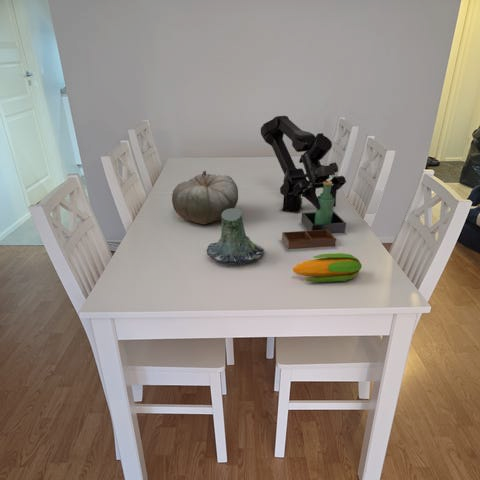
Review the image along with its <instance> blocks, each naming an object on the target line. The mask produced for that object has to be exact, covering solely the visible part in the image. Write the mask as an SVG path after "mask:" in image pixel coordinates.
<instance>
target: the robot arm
mask: <svg viewBox="0 0 480 480" xmlns="http://www.w3.org/2000/svg"><path fill="white" fill-rule="evenodd" d="M260 135H261V137H262V139H263V140H264V142H265V143H266V144H268V145H269V146H271V147H272V150H273V152H274V154H275V157H276V159H277V161H278V163H279V166H280V168H281V170H282V172H283V181H282V182H283V183H282V185H280V187H279V191H280V192H279V193H280V194H281V195H282V196H283V202H282V208H281V211H282V212H289V213H299V212H300V210H301V209H302V206H303V198H304V199H306V200H307V201H308V202H309V203H310V204H312V206H313V207H315V209H316V208H317V209H318V210H319V209H320V204H319V201H318V198H317V197H318V196H317V193H316V192H317V190H316V189H323V185H324V184H323V181H328V180H329V179H330V178H331V176H333V177H332V178H331V179H330V181H331V182H332V185H331V191H330V194H332V197H334V198H335V199H334V207H333V208H336V206H337V204H336V203H337V191H338V190H340V189H341V188H342V187H343V186H344V185H345V184H346V183H347V180H346V177H345V176H344V175H336V174H335V173H338V172H339V166H338V163H337V162H332V163H331V162H330V163H329V164H328V165H324V164H322V163H321V160H323V159H324V157H325V156H327V154H328V153H329V152H330V150H331V149H332V148H333V142H332V141H331V139H330V138H329V137H327V136H325V135H324V133H323V132H319V133H317V134H316V135H315V134H314V133H312V132H310V131H308V130H307V131H306V130H303V129H301V128H300V127H299V126H298V125H297V124H295V123H294V122H293V121H292V120H291V119H290V118H289V117H288V115H277V116H274V117H273V118H272V119H270V120H269V121H266V122H265V123H263V124H262V126H261V127H260ZM284 136H286V137H287V138H288V140H290V141H291V146H292V147H293V149H294V151H295V152H296V153H303V154H300V158H299V161H298V163H299V164H303V168H304V169H303V168H302V167H301V168H297V167H296V164H295V162H294V160H293V159H292V156H291V154H290V152H289V150H288V148H287V145H286V143H285V141H284ZM304 170H305V171H304ZM335 175H336V176H335Z"/></svg>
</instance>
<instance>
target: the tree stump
mask: <svg viewBox="0 0 480 480" xmlns="http://www.w3.org/2000/svg"><path fill="white" fill-rule="evenodd" d="M220 232H221V233H220V238H219V239H218V241H217V242H212V243H209V244H208V245H207V248H206V254H207V256H209V257H210V258H211V259H212V260H214V261H216V262H217V263H222V264H230V265H239V266H240V265H245V264H249V263H252V262H253V263H254V262H256V261H258V260H259V259H260V258H262V256H264V252H265V250H264V248H262V247H260V245H258V244H256V243H254V242H253V241H252V240H251V239H250V237H249V236H247V235H246V230H245V227H244V219H243V213H242V211H241V210H240V209H239V208H236V207H235V208H231V209H226V210H224V211H223V212H222V219H221V231H220Z"/></svg>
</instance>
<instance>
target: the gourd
mask: <svg viewBox="0 0 480 480" xmlns="http://www.w3.org/2000/svg"><path fill="white" fill-rule="evenodd" d="M238 201H239V189H238V185H237V183H236V182H235V180H234V179H233V178H232V177H231V176H230V175H227V174H212V173H207V170H203V171H202V173H200V174H196V175H195V176H194V177H193V178H190V179H189V180H186V181H182V182H180V183H178V184H177V185H176V187H174V189H173V191H172V195H171V203H172V207H173V210H174V211H175V213H176V214H177V215H178V216H179V217H180V218H181V219H183V220H185V221H187V222H193V223H195V224H198V225H207V224H209V223H212V222H215V221H219V220H222V212H223V211H224V210H226V209H231V208H236V206H237V204H238Z"/></svg>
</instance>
